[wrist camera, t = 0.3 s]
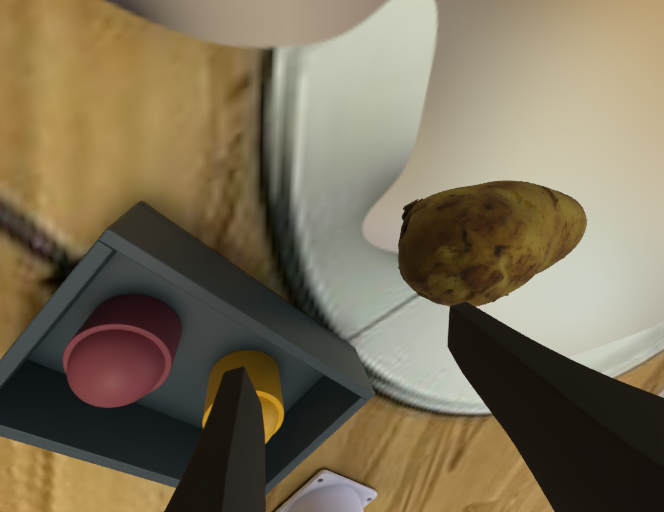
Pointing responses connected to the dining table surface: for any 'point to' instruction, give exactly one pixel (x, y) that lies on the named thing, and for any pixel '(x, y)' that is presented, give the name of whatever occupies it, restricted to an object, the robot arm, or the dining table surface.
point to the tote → (189, 363)
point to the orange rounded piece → (263, 380)
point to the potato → (485, 239)
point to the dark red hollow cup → (122, 350)
